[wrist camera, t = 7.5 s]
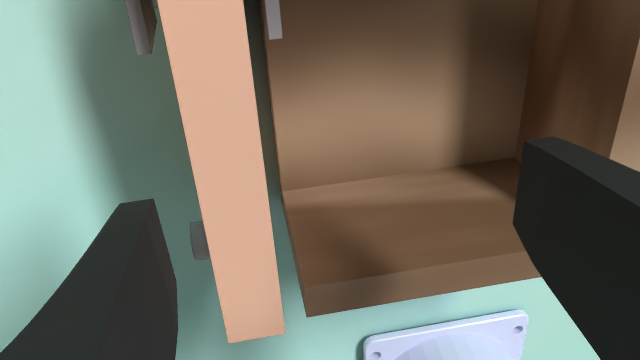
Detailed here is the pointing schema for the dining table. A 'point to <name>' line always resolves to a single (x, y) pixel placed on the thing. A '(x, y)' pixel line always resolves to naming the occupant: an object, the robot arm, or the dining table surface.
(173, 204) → the dining table surface
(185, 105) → the door
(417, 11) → the cabinet
